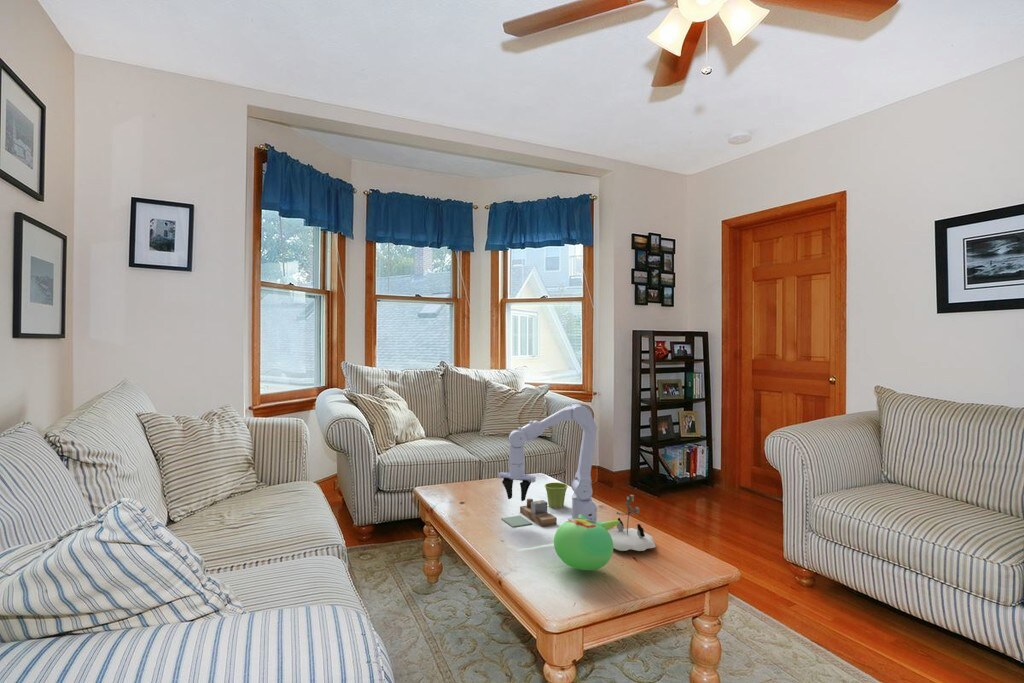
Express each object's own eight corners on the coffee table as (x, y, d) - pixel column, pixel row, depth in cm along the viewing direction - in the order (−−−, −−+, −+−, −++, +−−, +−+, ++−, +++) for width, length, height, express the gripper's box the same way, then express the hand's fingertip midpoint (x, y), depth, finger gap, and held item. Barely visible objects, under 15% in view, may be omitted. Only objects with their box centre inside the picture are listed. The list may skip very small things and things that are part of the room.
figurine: (587, 536, 185) (587, 489, 185) (632, 530, 191) (632, 484, 191) (619, 557, 166) (619, 505, 166) (667, 550, 172) (667, 499, 173)
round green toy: (543, 565, 159) (543, 516, 159) (578, 550, 171) (578, 504, 171) (591, 585, 146) (591, 531, 146) (626, 567, 158) (626, 517, 158)
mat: (532, 524, 196) (532, 523, 196) (512, 527, 192) (512, 526, 192) (520, 516, 205) (520, 515, 205) (501, 519, 201) (501, 518, 201)
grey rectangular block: (547, 512, 202) (547, 502, 202) (535, 514, 199) (535, 504, 199) (542, 510, 204) (542, 499, 204) (530, 512, 202) (530, 501, 202)
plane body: (556, 524, 196) (556, 509, 196) (542, 526, 193) (542, 511, 193) (533, 510, 212) (533, 496, 212) (520, 512, 209) (520, 498, 209)
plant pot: (568, 510, 213) (568, 488, 213) (545, 510, 213) (545, 488, 213) (566, 503, 222) (566, 482, 222) (544, 503, 222) (544, 482, 222)
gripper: (538, 462, 199) (538, 499, 199) (504, 459, 206) (504, 494, 205) (531, 466, 193) (531, 504, 193) (495, 462, 199) (495, 499, 199)
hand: (516, 499), depth 199 cm, fingers open, 5 cm apart
